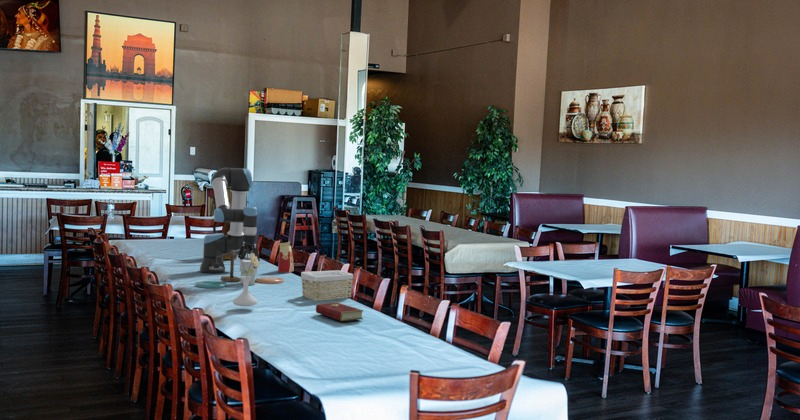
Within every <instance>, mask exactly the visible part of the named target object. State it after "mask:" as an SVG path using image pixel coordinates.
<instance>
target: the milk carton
mask: <svg viewBox="0 0 800 420" xmlns="http://www.w3.org/2000/svg"><path fill="white" fill-rule="evenodd" d="M278 245H279V254H278V266H277V273H278V272H285V274H290V273H292V272H294V271H295V269H294V257H293V251H292V246H291V241H288V242H287V241H286V242H279V243H278ZM287 272H288V273H287Z"/></svg>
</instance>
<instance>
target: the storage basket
mask: <svg viewBox="0 0 800 420" xmlns="http://www.w3.org/2000/svg"><path fill="white" fill-rule="evenodd" d="M300 279H301V290H302V297H304V298H307V299H309V300H312V301H315V302H317V301H326V300H327V301H329V300H337V299H339V300H340V299H347V298H351V297H352V288H353V281H354V280H353V279H354V274H353V273H350V272H347V271H344V270H340V269H339V270H338V269H337V270H336V269H335V270H319V271H316V270H315V271H301V272H300Z"/></svg>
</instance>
